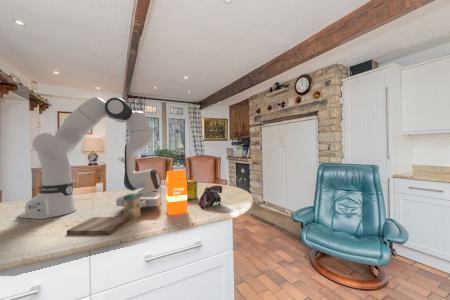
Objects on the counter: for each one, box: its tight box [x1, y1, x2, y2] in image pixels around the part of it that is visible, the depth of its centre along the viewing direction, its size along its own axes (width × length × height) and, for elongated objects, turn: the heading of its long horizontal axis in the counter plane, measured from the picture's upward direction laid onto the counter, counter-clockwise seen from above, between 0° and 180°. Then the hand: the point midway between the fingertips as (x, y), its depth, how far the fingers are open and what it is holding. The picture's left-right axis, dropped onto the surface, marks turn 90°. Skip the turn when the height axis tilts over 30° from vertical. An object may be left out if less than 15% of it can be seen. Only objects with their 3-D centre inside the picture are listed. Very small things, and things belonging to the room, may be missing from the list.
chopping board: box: [66, 216, 130, 236], centre depth 81 cm, size 16×14×2 cm
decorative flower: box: [198, 185, 223, 210], centre depth 109 cm, size 15×12×15 cm
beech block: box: [122, 193, 141, 220], centre depth 93 cm, size 5×5×10 cm
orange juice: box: [165, 169, 188, 216], centre depth 100 cm, size 8×9×20 cm
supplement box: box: [186, 179, 198, 201], centre depth 124 cm, size 6×6×11 cm
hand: (131, 205), depth 92 cm, fingers closed on beech block, 5 cm apart
